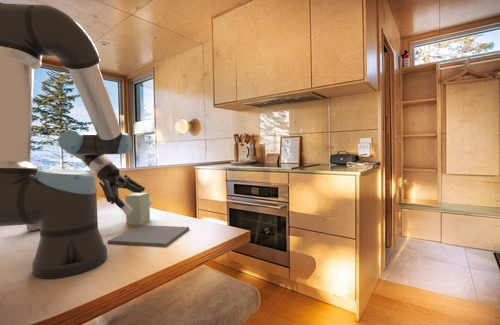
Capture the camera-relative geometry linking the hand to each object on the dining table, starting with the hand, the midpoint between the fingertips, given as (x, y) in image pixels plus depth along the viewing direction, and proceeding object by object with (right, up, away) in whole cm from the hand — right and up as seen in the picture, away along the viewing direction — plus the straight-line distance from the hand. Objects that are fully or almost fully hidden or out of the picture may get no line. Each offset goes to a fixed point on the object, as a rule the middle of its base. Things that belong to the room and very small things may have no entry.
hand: (141, 208), depth 101 cm
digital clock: (-32, -6, -3) cm, 33 cm away
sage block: (-1, -5, 0) cm, 5 cm away
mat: (+10, -6, -16) cm, 20 cm away
